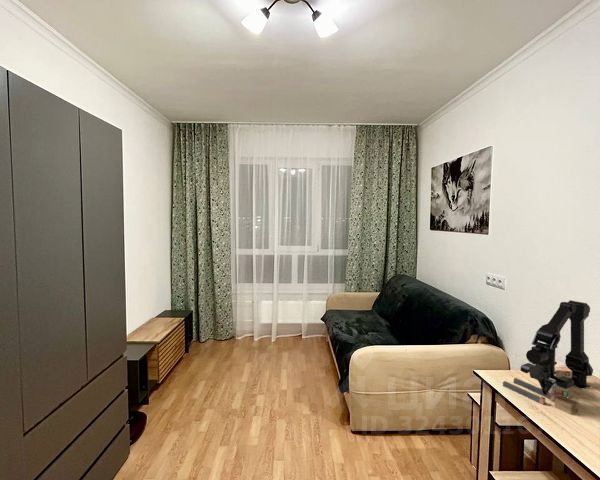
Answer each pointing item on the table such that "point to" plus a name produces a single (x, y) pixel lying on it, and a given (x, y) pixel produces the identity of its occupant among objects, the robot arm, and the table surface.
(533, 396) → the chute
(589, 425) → the table surface
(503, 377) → the table surface
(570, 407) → the walnut block
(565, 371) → the stack of blocks
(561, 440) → the table surface
